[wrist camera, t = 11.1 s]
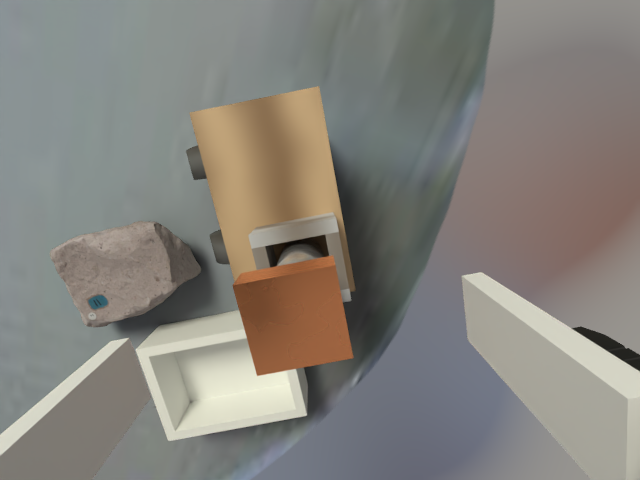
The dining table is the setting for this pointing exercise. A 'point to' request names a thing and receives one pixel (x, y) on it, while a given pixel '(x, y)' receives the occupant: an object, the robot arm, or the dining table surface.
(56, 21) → the dining table surface
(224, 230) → the trolley
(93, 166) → the dining table surface
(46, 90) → the dining table surface
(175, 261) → the stone
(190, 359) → the tray
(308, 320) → the pin
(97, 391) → the robot arm
